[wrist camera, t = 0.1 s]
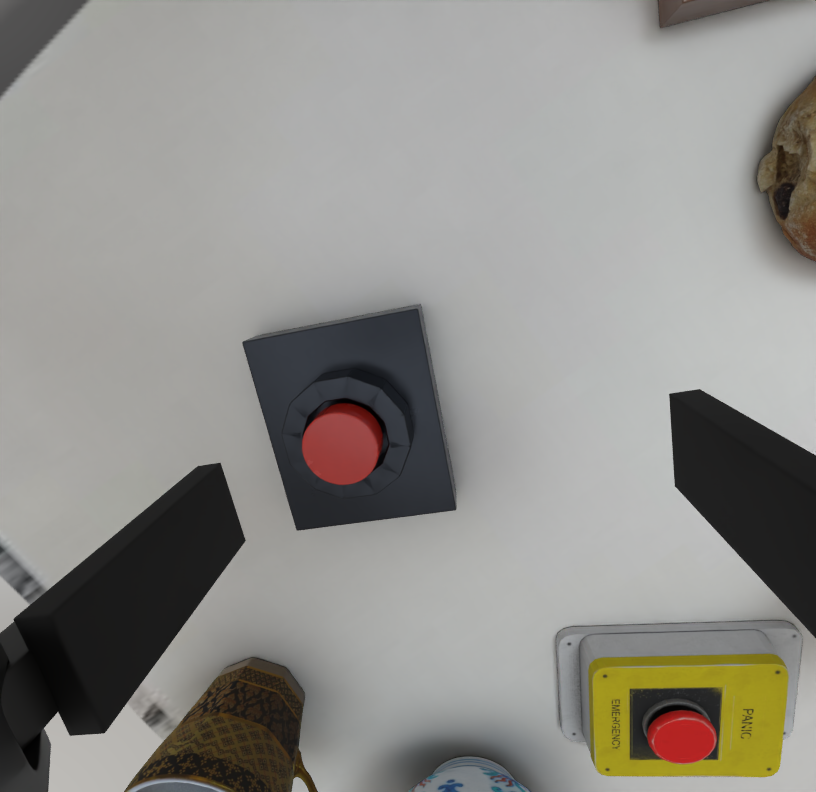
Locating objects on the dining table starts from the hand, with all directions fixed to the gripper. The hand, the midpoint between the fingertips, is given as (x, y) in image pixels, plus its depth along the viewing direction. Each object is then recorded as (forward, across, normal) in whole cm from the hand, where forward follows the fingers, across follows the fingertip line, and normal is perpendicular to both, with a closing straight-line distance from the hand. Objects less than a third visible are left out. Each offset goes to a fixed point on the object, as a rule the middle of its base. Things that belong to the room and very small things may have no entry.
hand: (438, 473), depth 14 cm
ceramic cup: (+15, -17, -23) cm, 33 cm away
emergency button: (+15, +11, -24) cm, 31 cm away
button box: (+15, -6, -2) cm, 16 cm away
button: (+11, -6, -2) cm, 13 cm away
